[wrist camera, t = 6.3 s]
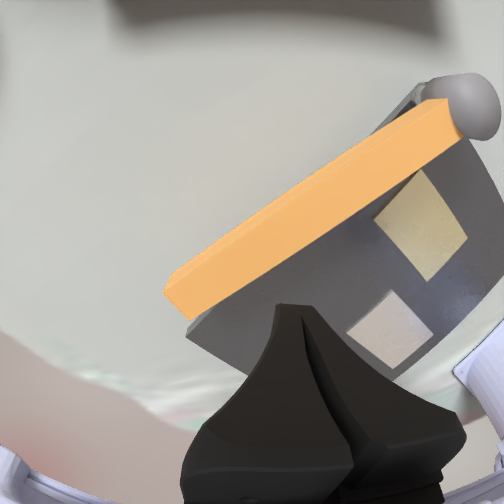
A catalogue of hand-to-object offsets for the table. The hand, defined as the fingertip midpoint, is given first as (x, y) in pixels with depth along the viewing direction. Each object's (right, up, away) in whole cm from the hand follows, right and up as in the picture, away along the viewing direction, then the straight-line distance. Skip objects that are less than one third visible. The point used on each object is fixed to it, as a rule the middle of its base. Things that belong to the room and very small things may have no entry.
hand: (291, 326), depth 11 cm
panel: (+7, 0, +8) cm, 10 cm away
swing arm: (+2, +6, +2) cm, 7 cm away
